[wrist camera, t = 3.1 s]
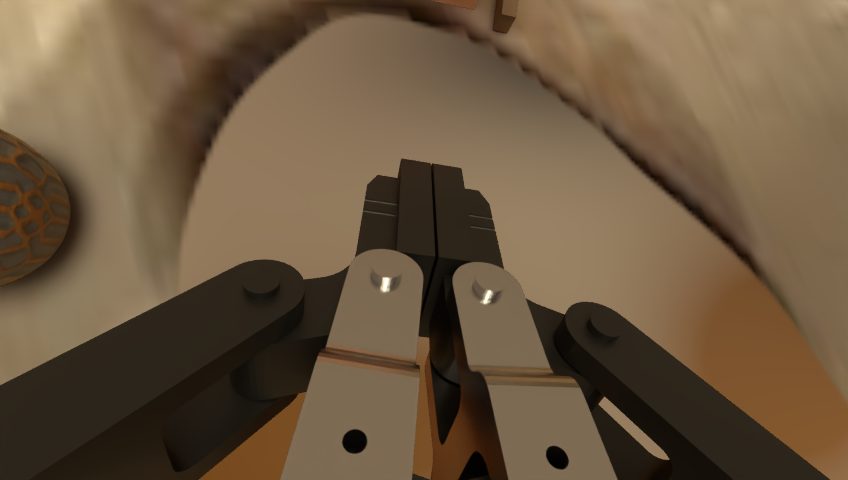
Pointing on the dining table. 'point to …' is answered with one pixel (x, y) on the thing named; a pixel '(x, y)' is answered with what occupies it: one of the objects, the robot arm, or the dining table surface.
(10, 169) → the vase
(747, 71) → the dining table surface
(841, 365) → the dining table surface
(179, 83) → the dining table surface
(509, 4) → the trap lane
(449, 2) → the terracotta block
